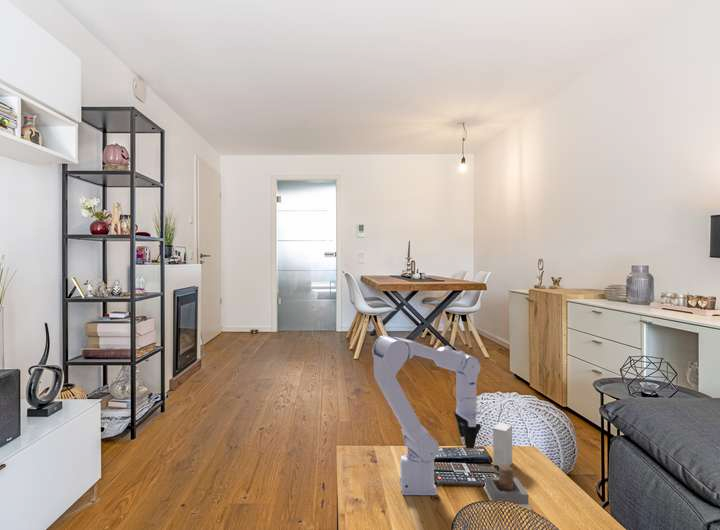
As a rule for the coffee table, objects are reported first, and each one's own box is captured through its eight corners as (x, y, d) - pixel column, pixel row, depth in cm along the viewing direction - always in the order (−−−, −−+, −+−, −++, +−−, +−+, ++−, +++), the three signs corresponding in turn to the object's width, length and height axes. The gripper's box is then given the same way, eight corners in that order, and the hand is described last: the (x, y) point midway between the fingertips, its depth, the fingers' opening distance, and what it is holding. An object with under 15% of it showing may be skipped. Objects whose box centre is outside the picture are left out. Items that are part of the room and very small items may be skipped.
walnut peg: (501, 498, 111) (501, 472, 111) (497, 491, 115) (497, 465, 115) (515, 498, 111) (515, 472, 111) (510, 491, 115) (510, 465, 115)
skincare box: (499, 459, 136) (498, 421, 136) (512, 462, 133) (512, 424, 133) (492, 466, 131) (492, 427, 131) (506, 470, 128) (506, 431, 128)
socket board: (495, 511, 107) (495, 498, 107) (483, 486, 119) (483, 474, 119) (531, 512, 107) (531, 498, 107) (515, 486, 119) (515, 474, 119)
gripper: (487, 404, 117) (487, 453, 117) (474, 388, 131) (474, 431, 131) (461, 404, 117) (461, 453, 117) (451, 388, 131) (451, 431, 132)
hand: (466, 442), depth 124 cm, fingers open, 7 cm apart
